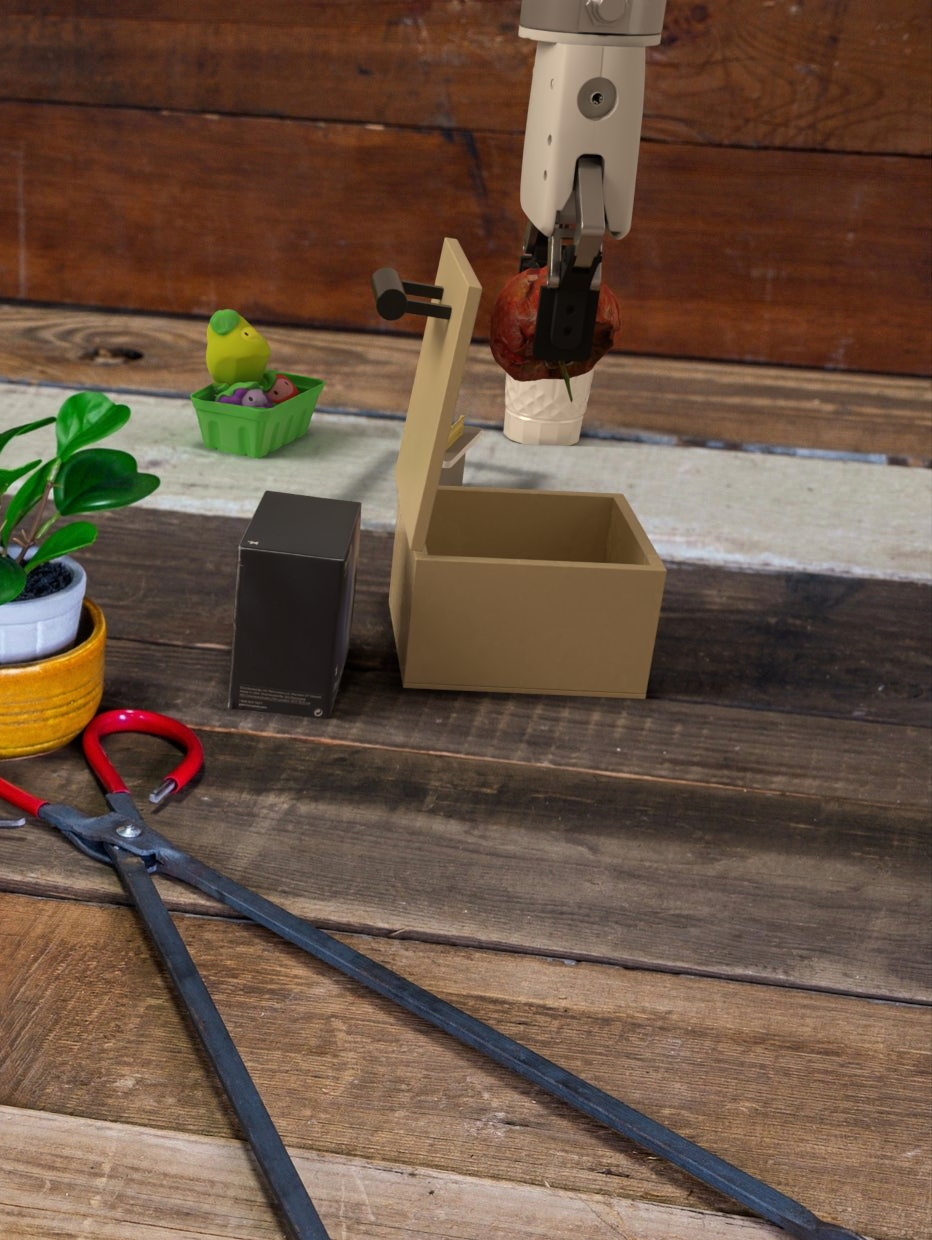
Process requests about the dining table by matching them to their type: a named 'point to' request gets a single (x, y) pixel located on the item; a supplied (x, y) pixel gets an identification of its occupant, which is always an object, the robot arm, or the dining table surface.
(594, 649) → the tan open box
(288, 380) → the fruit basket
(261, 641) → the small box
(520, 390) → the white cup
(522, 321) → the red round fruit
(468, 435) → the platform
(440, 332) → the lid
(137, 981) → the dining table surface
